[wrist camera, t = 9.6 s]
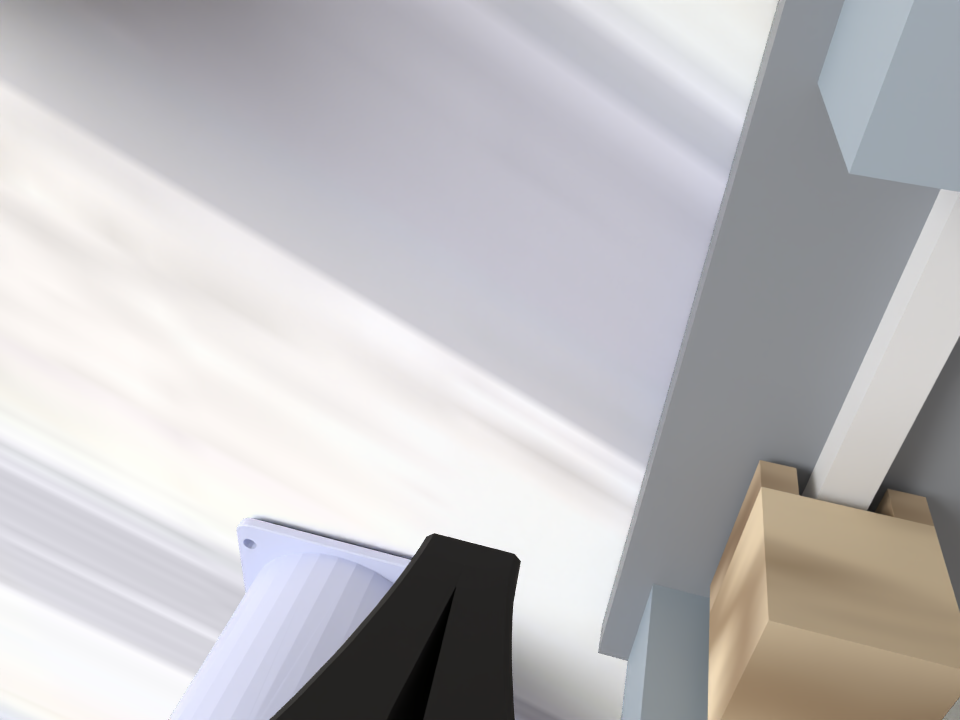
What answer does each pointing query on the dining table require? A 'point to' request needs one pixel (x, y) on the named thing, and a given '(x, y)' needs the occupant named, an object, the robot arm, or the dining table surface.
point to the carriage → (831, 610)
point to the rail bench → (809, 322)
